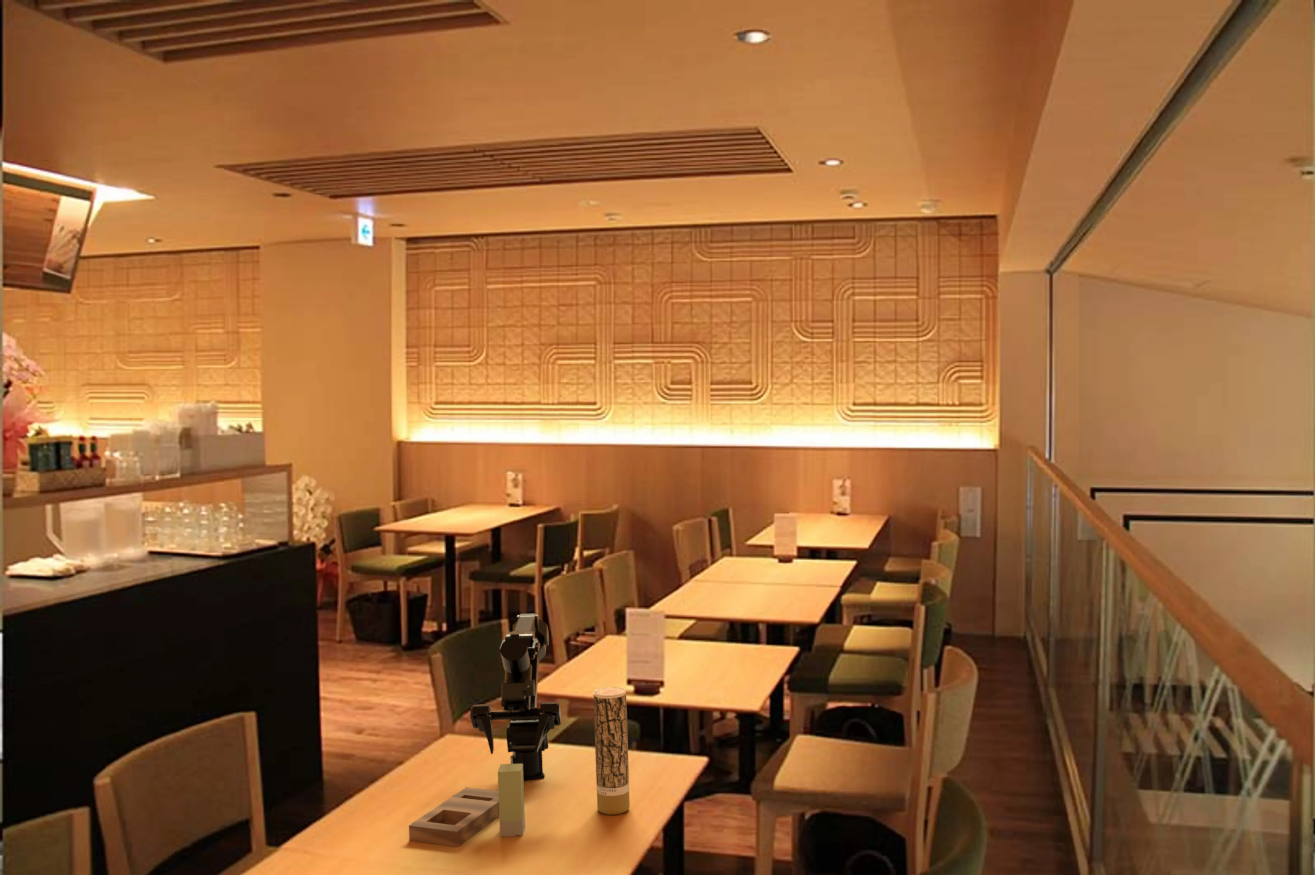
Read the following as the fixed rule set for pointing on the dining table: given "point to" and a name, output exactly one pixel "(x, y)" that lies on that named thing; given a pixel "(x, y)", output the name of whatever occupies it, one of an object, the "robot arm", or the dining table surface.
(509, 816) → the square bit
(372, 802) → the dining table surface
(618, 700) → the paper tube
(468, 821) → the socket board
